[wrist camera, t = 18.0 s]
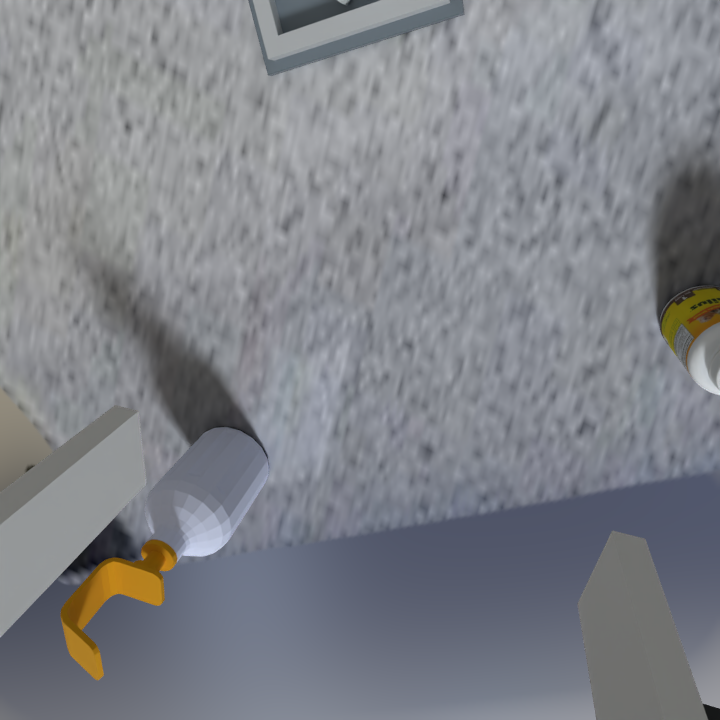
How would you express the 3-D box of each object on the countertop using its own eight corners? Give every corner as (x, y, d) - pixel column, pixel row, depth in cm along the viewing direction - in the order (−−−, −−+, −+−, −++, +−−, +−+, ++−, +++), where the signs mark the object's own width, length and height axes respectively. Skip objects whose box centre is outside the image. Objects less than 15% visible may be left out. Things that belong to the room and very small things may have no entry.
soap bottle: (268, 498, 59) (138, 715, 38) (198, 477, 61) (34, 675, 39) (273, 437, 55) (129, 642, 34) (197, 416, 56) (13, 601, 35)
